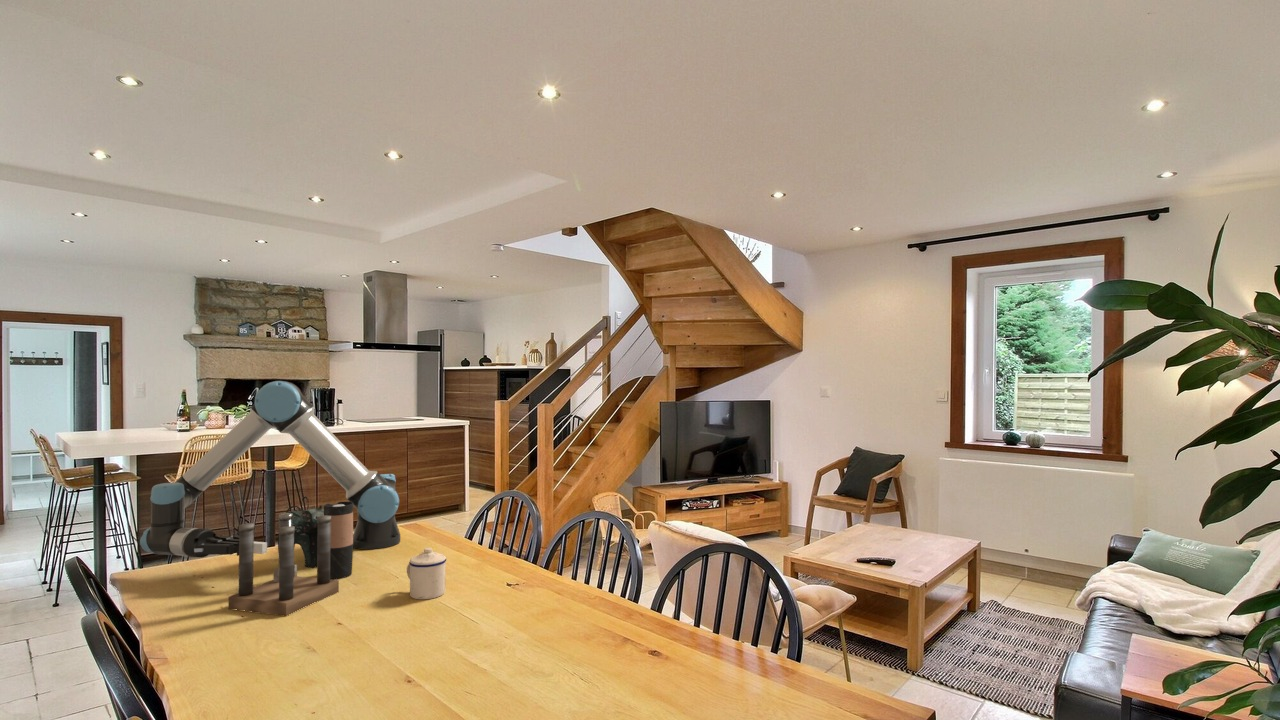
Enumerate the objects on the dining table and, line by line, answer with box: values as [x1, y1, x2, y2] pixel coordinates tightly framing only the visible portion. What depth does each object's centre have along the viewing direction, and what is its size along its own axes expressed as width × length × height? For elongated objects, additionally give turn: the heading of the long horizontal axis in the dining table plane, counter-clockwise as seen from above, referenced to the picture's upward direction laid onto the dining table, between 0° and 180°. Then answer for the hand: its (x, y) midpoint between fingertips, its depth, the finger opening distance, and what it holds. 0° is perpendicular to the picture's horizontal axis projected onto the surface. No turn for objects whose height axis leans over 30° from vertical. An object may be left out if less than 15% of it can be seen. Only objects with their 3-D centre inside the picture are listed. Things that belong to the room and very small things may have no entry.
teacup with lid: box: [406, 547, 447, 600], centre depth 163 cm, size 12×9×12 cm
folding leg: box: [278, 512, 293, 551], centre depth 166 cm, size 3×3×15 cm
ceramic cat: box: [277, 496, 324, 569], centre depth 190 cm, size 20×6×20 cm, turn 58°
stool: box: [227, 516, 340, 617], centre depth 158 cm, size 17×17×20 cm
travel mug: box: [323, 501, 354, 580], centre depth 178 cm, size 8×8×20 cm
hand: (264, 548), depth 169 cm, fingers closed
